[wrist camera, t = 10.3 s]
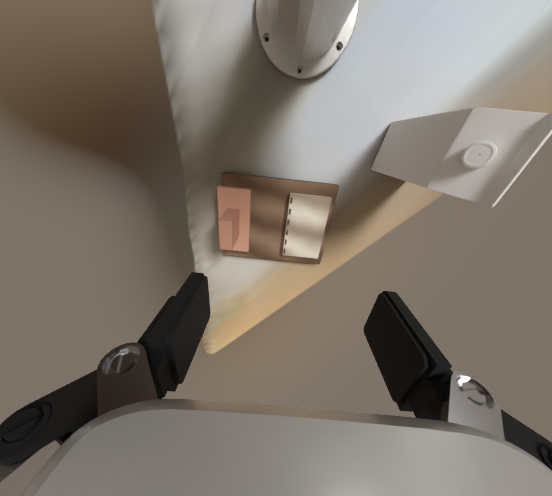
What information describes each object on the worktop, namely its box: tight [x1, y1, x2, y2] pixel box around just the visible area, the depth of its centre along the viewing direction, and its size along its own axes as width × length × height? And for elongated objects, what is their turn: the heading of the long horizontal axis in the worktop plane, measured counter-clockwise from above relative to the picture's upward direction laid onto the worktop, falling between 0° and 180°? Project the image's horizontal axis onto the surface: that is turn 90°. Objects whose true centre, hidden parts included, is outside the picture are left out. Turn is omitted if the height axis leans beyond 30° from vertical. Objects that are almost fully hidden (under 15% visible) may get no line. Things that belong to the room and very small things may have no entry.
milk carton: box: [371, 107, 552, 207], centre depth 24 cm, size 7×7×19 cm
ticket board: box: [222, 172, 339, 264], centre depth 37 cm, size 16×20×3 cm
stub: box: [217, 185, 251, 252], centre depth 34 cm, size 12×6×7 cm, turn 174°
